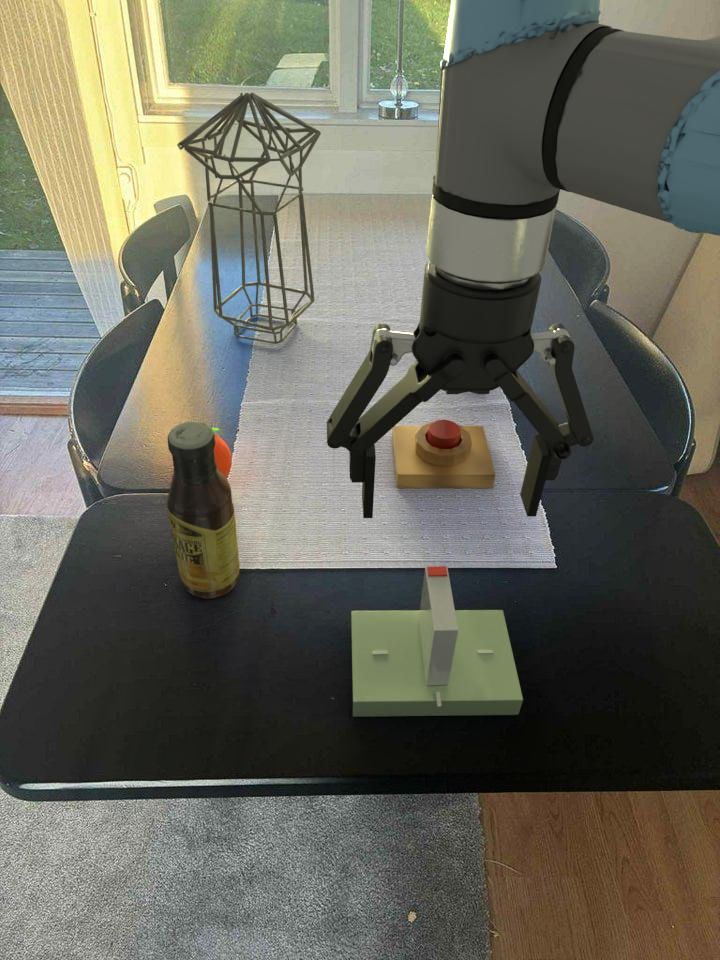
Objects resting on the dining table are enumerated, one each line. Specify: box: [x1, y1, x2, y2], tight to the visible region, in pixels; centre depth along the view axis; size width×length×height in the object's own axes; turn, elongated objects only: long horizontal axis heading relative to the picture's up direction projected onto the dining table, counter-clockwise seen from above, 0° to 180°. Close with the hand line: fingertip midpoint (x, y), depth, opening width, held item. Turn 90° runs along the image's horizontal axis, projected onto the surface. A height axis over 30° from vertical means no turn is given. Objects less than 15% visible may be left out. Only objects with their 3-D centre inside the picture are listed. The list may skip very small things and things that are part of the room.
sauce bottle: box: [165, 420, 241, 600], centre depth 68 cm, size 7×6×20 cm
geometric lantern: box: [176, 91, 322, 345], centre depth 103 cm, size 16×16×35 cm
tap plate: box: [350, 609, 524, 718], centre depth 66 cm, size 15×11×3 cm
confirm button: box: [427, 419, 461, 449], centre depth 87 cm, size 4×4×2 cm
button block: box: [391, 421, 496, 489], centre depth 89 cm, size 12×10×4 cm
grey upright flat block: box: [418, 565, 458, 685], centre depth 62 cm, size 7×2×8 cm, turn 2°
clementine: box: [172, 427, 233, 478], centre depth 84 cm, size 8×7×7 cm
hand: (447, 506), depth 59 cm, fingers open, 13 cm apart
